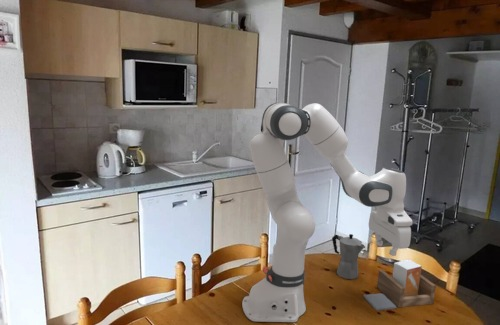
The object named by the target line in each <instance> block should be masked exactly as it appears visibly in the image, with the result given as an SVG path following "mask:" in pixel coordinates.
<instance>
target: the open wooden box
mask: <svg viewBox="0 0 500 325" xmlns="http://www.w3.org/2000/svg"><path fill="white" fill-rule="evenodd" d="M376 287H377V289H378V290H380V292H381V293H383V294H384V295H385V296H386V297H387V298H388V299H389V300H390V301H391V302H392V303H393V304H394V305H396V306H397V308H404V307H415V306H423V305H433V304H434V302H435V301H434V300H435V294H436V288H437V286H436V284H435V283H433V282H432V281H430V280H429V279H428V278H426V277H425V276H424V275H422V274H421V275H420V282H419V289H418V296H407V297H404V290H405V288H404V287H403V286H402V285H400V284H399V283H398V282H397V281H396V280H394V279H393V278H392V276H391V275H390V274H388V273H387V271H384V270H383V269H379V270H378V276H377V285H376Z"/></svg>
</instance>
